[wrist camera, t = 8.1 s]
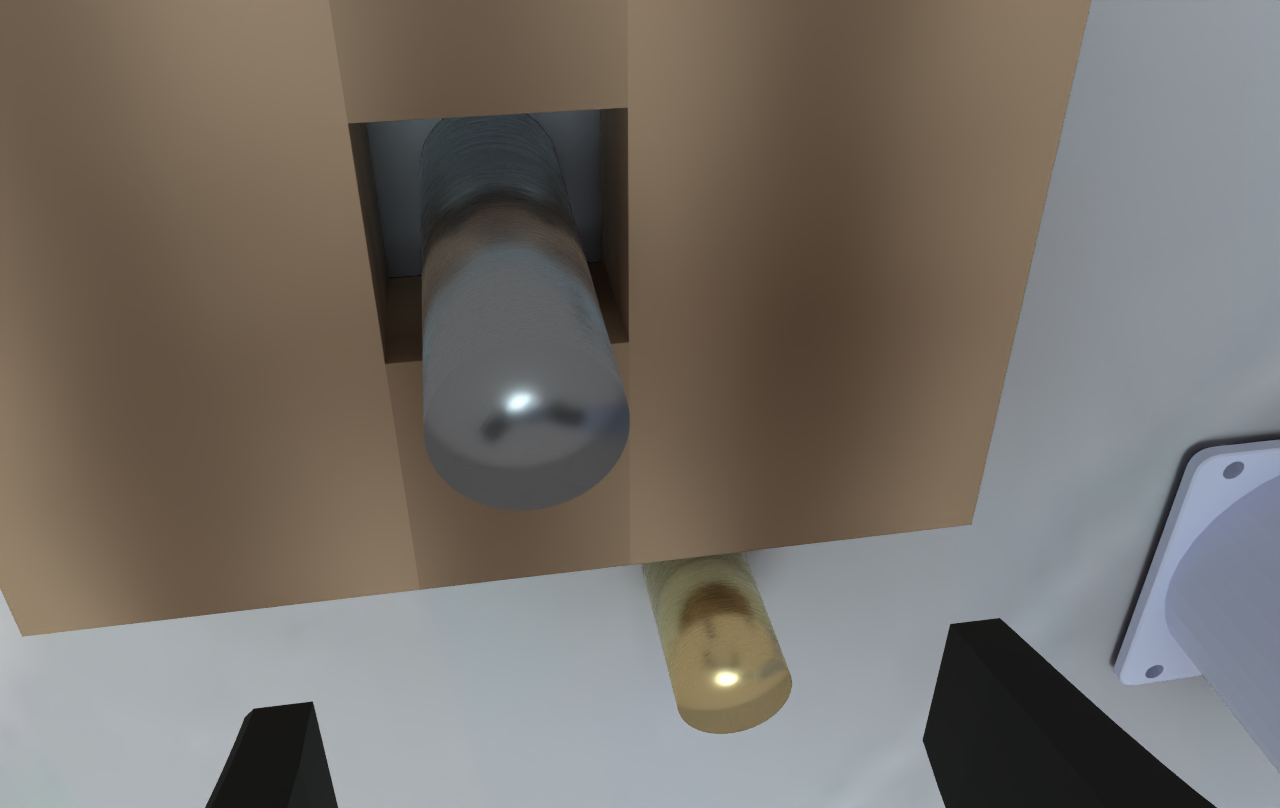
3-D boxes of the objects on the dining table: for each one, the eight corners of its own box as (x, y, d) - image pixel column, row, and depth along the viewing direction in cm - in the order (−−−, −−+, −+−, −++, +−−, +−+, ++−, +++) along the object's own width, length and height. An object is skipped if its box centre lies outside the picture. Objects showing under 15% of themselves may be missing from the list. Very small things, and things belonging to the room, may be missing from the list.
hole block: (1048, -307, 16) (1160, -302, 14) (915, 438, 24) (971, 524, 22) (-259, -305, 14) (-403, -298, 11) (66, 527, 22) (22, 636, 19)
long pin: (557, 101, 19) (633, 336, 12) (556, 229, 20) (626, 502, 13) (414, 104, 18) (415, 346, 12) (424, 234, 20) (430, 517, 13)
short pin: (746, 517, 25) (796, 645, 22) (740, 593, 26) (787, 724, 23) (643, 529, 24) (678, 661, 21) (642, 605, 26) (675, 740, 23)
